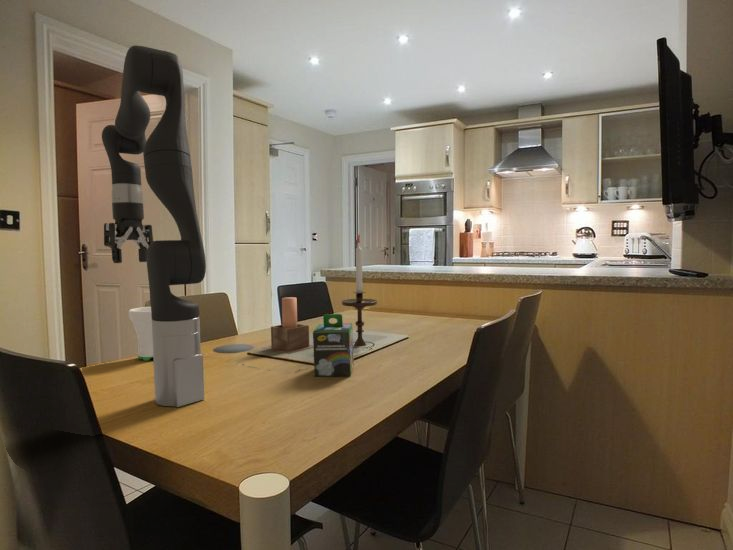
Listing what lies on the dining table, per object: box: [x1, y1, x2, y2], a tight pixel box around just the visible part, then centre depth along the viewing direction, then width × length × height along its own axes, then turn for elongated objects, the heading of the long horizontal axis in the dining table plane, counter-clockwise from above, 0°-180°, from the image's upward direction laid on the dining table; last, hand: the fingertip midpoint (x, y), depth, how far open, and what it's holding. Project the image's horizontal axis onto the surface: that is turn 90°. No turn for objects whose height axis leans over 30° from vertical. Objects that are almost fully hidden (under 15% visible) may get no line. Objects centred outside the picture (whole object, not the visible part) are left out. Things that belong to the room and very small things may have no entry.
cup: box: [128, 306, 153, 362], centre depth 136 cm, size 11×11×14 cm
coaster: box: [212, 343, 255, 354], centre depth 143 cm, size 12×12×1 cm
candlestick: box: [341, 233, 378, 349], centre depth 145 cm, size 11×11×35 cm
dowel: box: [281, 296, 298, 329], centre depth 143 cm, size 4×4×15 cm
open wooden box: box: [261, 323, 313, 355], centre depth 144 cm, size 12×12×7 cm
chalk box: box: [312, 313, 355, 377], centre depth 119 cm, size 9×9×15 cm
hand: (130, 262), depth 129 cm, fingers open, 8 cm apart
